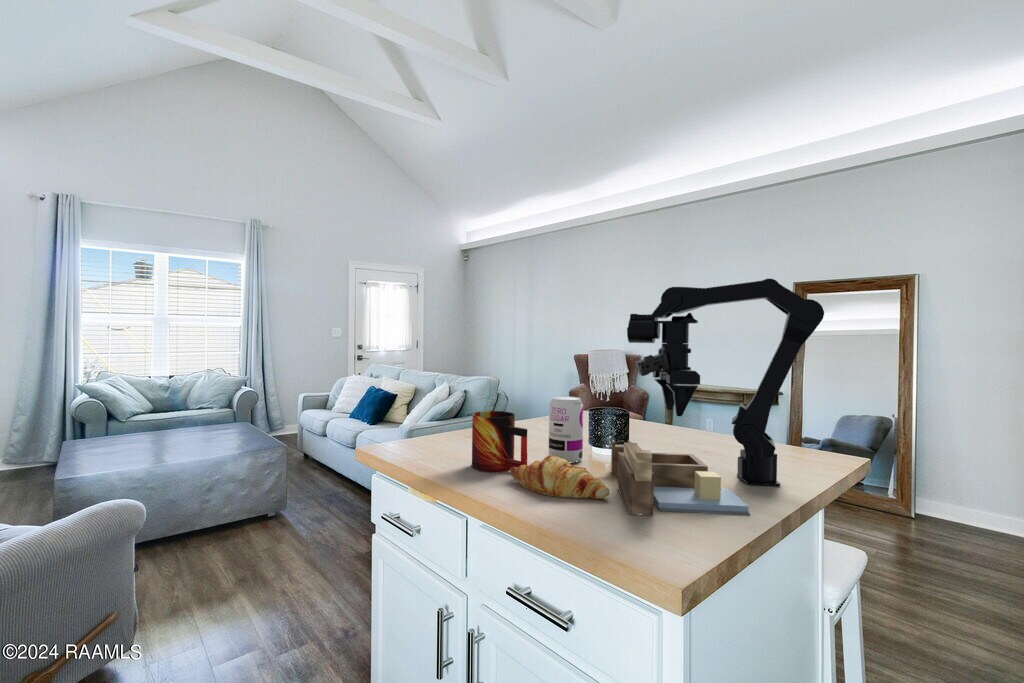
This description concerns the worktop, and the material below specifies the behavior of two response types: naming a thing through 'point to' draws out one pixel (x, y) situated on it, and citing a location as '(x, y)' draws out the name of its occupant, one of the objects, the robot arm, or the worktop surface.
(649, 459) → the beige block
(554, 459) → the croissant
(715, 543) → the worktop surface
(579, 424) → the supplement can
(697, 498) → the lid
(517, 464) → the mug
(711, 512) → the mat
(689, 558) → the worktop surface
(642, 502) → the brown wooden box
